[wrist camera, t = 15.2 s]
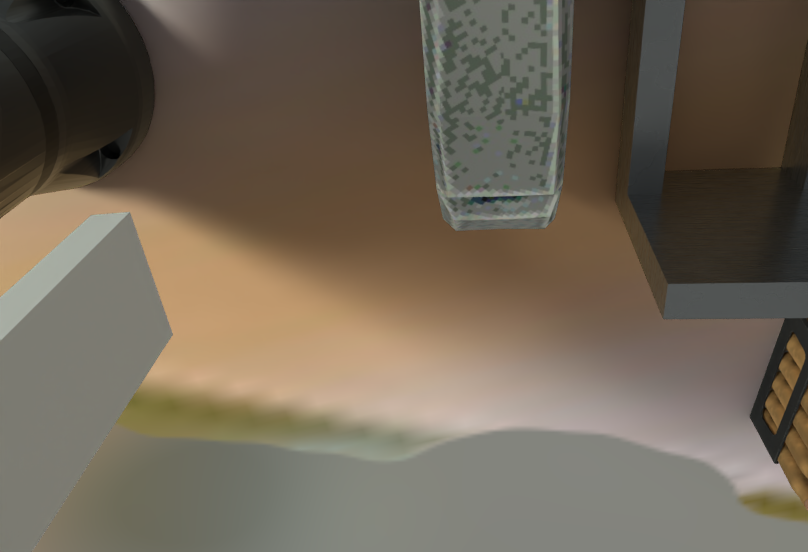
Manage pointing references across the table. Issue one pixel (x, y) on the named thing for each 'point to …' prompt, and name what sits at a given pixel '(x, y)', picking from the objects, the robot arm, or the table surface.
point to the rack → (707, 197)
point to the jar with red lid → (498, 108)
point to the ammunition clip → (787, 405)
